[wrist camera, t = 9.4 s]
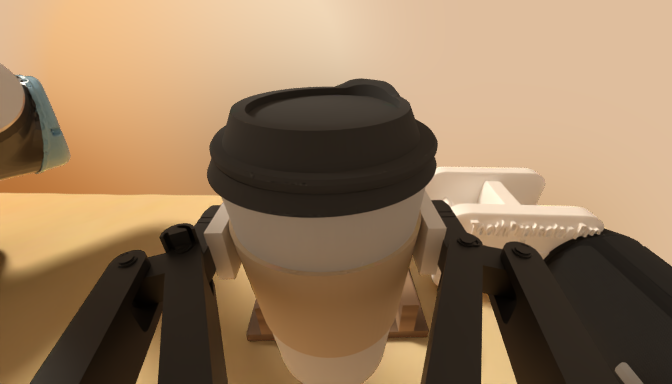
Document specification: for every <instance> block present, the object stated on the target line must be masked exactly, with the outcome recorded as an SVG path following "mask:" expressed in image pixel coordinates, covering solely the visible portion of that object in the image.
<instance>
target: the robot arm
mask: <svg viewBox="0 0 672 384" xmlns="http://www.w3.org/2000/svg"><path fill="white" fill-rule="evenodd" d="M69 159H70V152H69V149H68V146H67V143H66V141H65V139H64V136H63V133H62V131H61V129H60V126H59V124H58V121H57V118H56V116H55V114H54V111H53V109H52V106H51V104H50V102H49V100H48V97H47V95H46V93H45V91H44V89H43V87H42V85H41V83H40V82H39V81H38V79H36V78H34V77H32V76H23V75H14V74H13V73H12V72H11V71H10V70H9V69H7V68H6V67H5V66H3V65H2V64H0V181H1V180H5V179H9V178H14V177H18V176H23V175H27V174H31V173H36V174H38V173H42V172H44V171H45V170H48V169H52V168H55V167H59V166H62V165H64V164H66V163H67V162H68V161H69ZM420 210H421V225H420V228H419V232H418V236H417V240H416V243H415V247H414V251H413V257H414V260H415V263H416V266H417V269H418V272H419V275H436V272H437V268H438V267H439V269H440V271H441V276H440V280H439V284H438V288H437V297H436V302H435V308H434V313H433V319H432V324H431V330H430V335H429V341H428V346H427V352H426V357H425V363H424V368H423V374H422V379H421V384H481V353H482V292H483V293H487V294H488V296H489V299H490V302H491V305H492V308H493V311H494V314H495V317H496V320H497V323H498V326H499V329H500V332H501V335H502V338H503V341H504V344H505V347H506V350H507V353H508V356H509V359H510V363H511V366H512V369H513V372H514V375H515V378H516V381H517V384H619V382H618V381H617V379H616V377H615V376H614V374H613V373H612V371H611V369H610V368H609V366H608V364H607V363H606V361H605V360H604V358H603V356H602V355H601V353H600V351H599V350H598V348H597V346H596V345H595V343H594V342H593V340H592V338H591V337H590V335H589V333H588V332H587V330H586V329H585V327H584V325H583V324H582V322H581V320H580V319H579V317H578V315H577V314H576V312H575V311H574V309H573V307H572V306H571V304H570V302H569V301H568V299H567V298H566V296H565V294H564V293H563V291H562V289H561V288H560V286H559V284H558V283H557V281H556V280H555V278H554V276H553V275H552V273H551V271H550V270H549V268H548V267H547V265H546V263H545V262H544V260H543V258H542V257H541V255H540V254H539V253H538V251H537V250H536V249H534V248H533V247H531V246H529V245H527V244H525V243H521V242H517V241H512V242H508V243H506V244H505V245H504V247H503V249H500V248H494V247H489V246H485V245H483V244H482V241H481V240H480V239H479V238H478V237H476V236H474V235H472V234H469V233H467V232H466V230H465V229H464V227H463V226H462V224H461V223H460V221H459V220H458V218H457V217H456V215H455V213H454V212H453V210H452V209H451V207H450V206H449V205H448V204H447V203H445V202H444V201H443V200H431V199H430V198H429V196H428V194H427V192H426V191H425V192H424V196H423V200H422V204H421V208H420ZM160 240H161V242H162V244H163V247H164V249H165V251H166V253H164V254H160V255H156V256H152V257H147V255H146V254H145V252H144V251H141V250H133V251H129V252H126V253H123V254H121V255H119V256H118V257H116V258H115V259H114V260H113V261H112V262H111V263H110V264H109V265H108V267H107V268H106V270H105V271H104V273H103V274H102V276H101V277H100V279H99V280H98V282H97V283H96V285H95V286H94V288H93V289H92V291H91V292H90V294H89V295H88V297H87V298H86V300H85V301H84V303H83V304H82V306H81V307H80V309H79V310H78V312H77V313H76V315H75V316H74V318H73V319H72V321H71V322H70V324H69V325H68V327H67V328H66V330H65V331H64V333H63V334H62V336H61V337H60V339H59V340H58V342H57V343H56V345H55V346H54V348H53V349H52V351H51V352H50V354H49V355H48V357H47V358H46V360H45V361H44V363H43V364H42V366H41V367H40V369H39V370H38V372H37V373H36V375H35V376H34V378H33V379H32V381H31V382H30V384H136V381H137V378H138V376H139V373H140V370H141V368H142V365H143V362H144V359H145V357H146V354H147V351H148V349H149V346H150V343H151V340H152V338H153V335H154V332H155V330H156V327H157V324H158V321H159V319H160V316H161V313H162V327H161V343H160V359H159V375H158V384H228V381H227V374H226V367H225V359H224V352H223V344H222V337H221V329H220V322H219V315H218V307H217V300H216V292H215V285H214V282H213V279H212V278H213V276H214V274H215V272H217V275H218V278H219V279H235V278H236V275H237V273H238V270H239V268H240V265H241V259H240V257H239V255H238V252H237V250H236V247H235V245H234V242H233V240H232V237H231V235H230V231H229V215H228V213H227V210H226V207H225V205H224V202H223V203H222V205H213V206H211V207H210V208H208V209H207V210H206V211H205V212H204V213H203V214H202V216H201V218H200V219H199V220H198V222H197V224H196V225H195V226H193V225H191V224H187V223H183V224H177V225H174V226H171V227H169V228H168V229H166V230H165V231H164V232H163V233H161V235H160Z"/></svg>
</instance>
